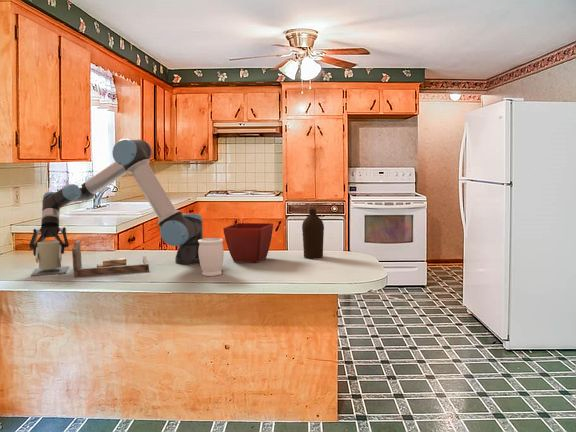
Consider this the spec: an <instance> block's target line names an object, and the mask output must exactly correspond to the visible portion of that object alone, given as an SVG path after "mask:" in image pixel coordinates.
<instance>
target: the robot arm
mask: <svg viewBox="0 0 576 432" xmlns="http://www.w3.org/2000/svg"><path fill="white" fill-rule="evenodd" d="M111 154H112V158H113V160H114V162H113V163H111V164H110V165H108V166H107V167H105V168H104V169H102V170H101V171H99V172H97V173H96V174H95V175H93V176H92V177H91V178H88V179H87V180H86V181H85V182H83V183H82V184H80V185H77V184H75V183H69V184H67V185H65V186H64V187H62V188H60V189H59V190H57V191H51V190H50V191H47V192H45V193H44V194H43V196H42V201H41V202H42V208H41V210H42V211H41V224H40V225H41V226H40V228H39V229H36V228H33V230H32V232H33V234H32V237H31V239H30V242H29V244H28V247H29V249H30V251H31V250H32V251H33V252H32V253H33V256H35V262H36V263H38V264H39V258H38V246H37V243H38V242H42V241H46V239H47V238H54V239H55V240H56V241H60V242H59V245H60V247H59V260H60V261H61V262H62V260H63V259H62V258H63V255H64V254H65V248H69V246H70V245H69V240H68V238H67V228H66V227H62V228H60V213H61V212H60V209H62V208H63V207H65V206H67V205H69V204H70V203H77V202H81V201H84V202H86V201H89V200H92V199H93V198H95V197H96V194H98V193H99V192H101V191H102V190H104V189H105V188H107V187H108V186H109V185H111V184H113V183H114V182H116V181H118V180H119V179H120V178H121V177H123V176H125V175H126V174H131V175H132V176H133V178H134V180H135V182H136V183H137V185H138V187H139V188H140V190H141V192H142V193H143V195H144V196H145V198H146V200H147V202H148V203H149V204H150V206H151V208H152V210H153V211H154V213H155V215H156V216H157V218H158V223H157V224H158V226H159V228H160V231H159V235H160V238H161V239H162V241H163V242H164V243H165V244H167V245H169V246H173V247H178V248H177V250H176V253H175V254H176V255H175V260H174V261H175V263H176V264H179V265H196V264H200V260H199V254H198V251H199V245H200V244H199V243H198V240H200V239H204V238H203V237H204V235H203V234H204V233H203V217H202V215H201V214H199V213H198V214H197V213H182V211H181V210H179V209H176V207H175V206H174V205H173V203H172V200H170V197H169V195H168V194H167V193H166V190H164V187H163V186H162V184H161V183H160V181H159V179H158V177H157V176H156V174H155V172H153V170H152V167H151V166H150V160H151V158H152V156H153V155H152V154H153V150H152V147H151V145H150V144H149V143H148V141H146V140H143V139H134V138H122V139H119V140H118V141H117V142H116V143H115V144H114V145H113V147H112V153H111ZM59 233H61V234H62V237H63V239H64V240H63V241H64V242H63V241H62V239H61V237H60V236H59ZM39 234H40V236H39ZM38 236H39V238H38Z"/></svg>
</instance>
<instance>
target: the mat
mask: <svg viewBox="0 0 576 432" xmlns="http://www.w3.org/2000/svg"><path fill="white" fill-rule="evenodd" d="M68 270H69V266H67V265H66V266H61V267H60V268H56V269H48V270H42V269H39V268H35V269H34V270H33V271H32V273H31V274H30V277H41V276H53V275H55V276H56V275H65V274H67V272H68Z"/></svg>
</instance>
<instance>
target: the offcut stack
mask: <svg viewBox="0 0 576 432" xmlns="http://www.w3.org/2000/svg"><path fill="white" fill-rule="evenodd" d="M124 265H127V257H118V258H116V257H115V258H106V259H102V263H98V264H96V268H98V267H111V266H124Z"/></svg>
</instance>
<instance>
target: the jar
mask: <svg viewBox="0 0 576 432" xmlns="http://www.w3.org/2000/svg"><path fill="white" fill-rule="evenodd" d="M223 242H224V239H223V238H219V237H218V238H217V237H206V238H203V239H200V240H198V243H199V244H200V245H199V251H198V254H199V260H200V263H199V264H200V268H201V275H202V276H205V277H216V276H220V275H221V274H223V273H222V267H223V264H224V257H225V255H224V253H225V252H224V245H223Z"/></svg>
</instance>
